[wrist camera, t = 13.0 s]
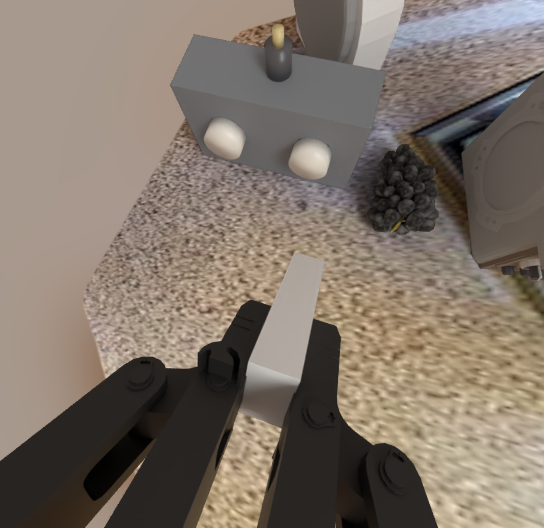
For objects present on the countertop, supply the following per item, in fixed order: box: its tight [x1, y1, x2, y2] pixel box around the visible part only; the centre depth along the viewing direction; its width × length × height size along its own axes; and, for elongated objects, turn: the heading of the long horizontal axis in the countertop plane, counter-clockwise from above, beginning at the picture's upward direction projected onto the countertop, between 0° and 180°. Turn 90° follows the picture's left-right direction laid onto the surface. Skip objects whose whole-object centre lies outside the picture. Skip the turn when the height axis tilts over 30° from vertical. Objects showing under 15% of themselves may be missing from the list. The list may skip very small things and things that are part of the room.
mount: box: [170, 34, 387, 190], centre depth 37 cm, size 24×8×13 cm, turn 73°
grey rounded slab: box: [294, 0, 406, 70], centre depth 37 cm, size 18×8×20 cm, turn 25°
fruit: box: [368, 144, 439, 235], centre depth 37 cm, size 9×8×15 cm
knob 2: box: [288, 138, 332, 179], centre depth 35 cm, size 5×7×5 cm
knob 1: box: [204, 117, 246, 160], centre depth 36 cm, size 5×7×5 cm
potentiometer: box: [264, 24, 292, 82], centre depth 28 cm, size 3×3×5 cm
